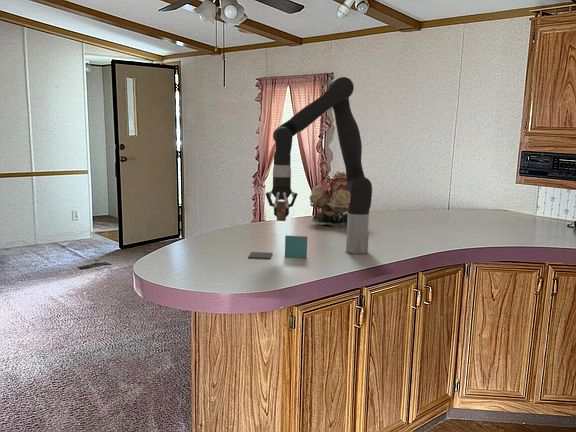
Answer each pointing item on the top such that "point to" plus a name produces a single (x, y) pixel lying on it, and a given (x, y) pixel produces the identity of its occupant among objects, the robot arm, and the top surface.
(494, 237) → the top surface
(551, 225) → the top surface
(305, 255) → the tile
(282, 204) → the block
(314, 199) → the rose bouquet
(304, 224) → the top surface
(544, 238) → the top surface
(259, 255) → the mat
